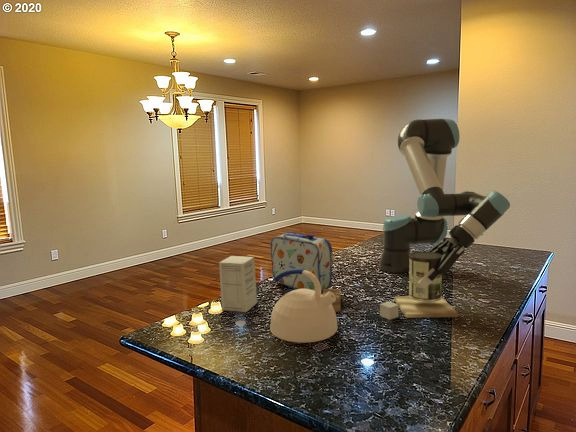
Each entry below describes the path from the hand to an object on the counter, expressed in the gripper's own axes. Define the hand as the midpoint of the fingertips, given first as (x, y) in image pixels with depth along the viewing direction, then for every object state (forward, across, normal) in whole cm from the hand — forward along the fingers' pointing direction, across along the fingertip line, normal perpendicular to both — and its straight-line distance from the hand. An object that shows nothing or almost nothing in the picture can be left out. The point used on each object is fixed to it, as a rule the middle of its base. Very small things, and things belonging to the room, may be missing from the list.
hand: (416, 280), depth 132 cm
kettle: (+33, -14, +19) cm, 41 cm away
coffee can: (+2, 0, -6) cm, 7 cm away
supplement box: (+49, +4, +35) cm, 60 cm away
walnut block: (+27, 0, +13) cm, 30 cm away
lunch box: (+33, +23, +19) cm, 45 cm away
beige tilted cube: (+14, -6, 0) cm, 15 cm away
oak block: (+26, +7, +12) cm, 30 cm away
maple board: (+5, 0, -9) cm, 10 cm away
